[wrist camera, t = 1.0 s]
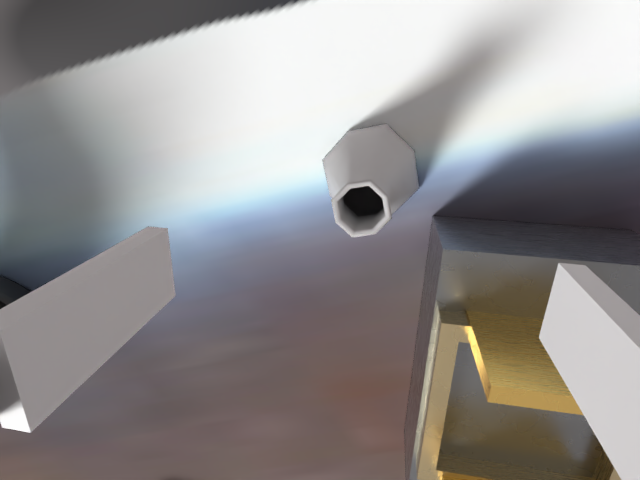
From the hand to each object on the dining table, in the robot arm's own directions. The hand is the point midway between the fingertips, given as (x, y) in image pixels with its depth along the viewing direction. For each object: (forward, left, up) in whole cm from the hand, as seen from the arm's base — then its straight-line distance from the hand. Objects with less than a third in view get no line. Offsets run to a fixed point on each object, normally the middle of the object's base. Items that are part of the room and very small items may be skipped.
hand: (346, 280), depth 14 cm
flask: (0, 0, -19) cm, 19 cm away
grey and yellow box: (+12, -15, -18) cm, 27 cm away
